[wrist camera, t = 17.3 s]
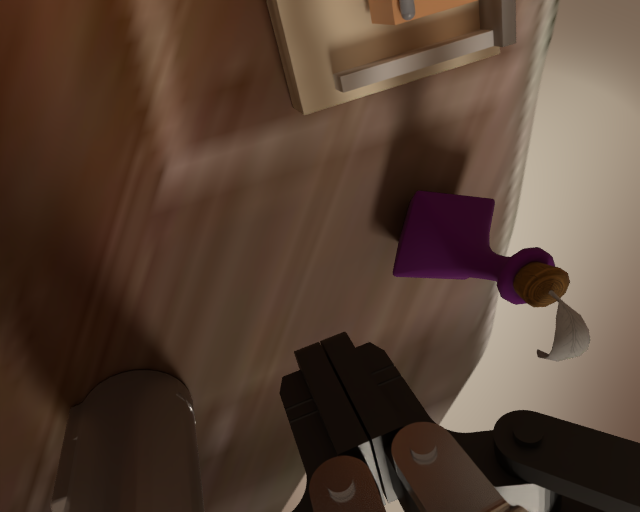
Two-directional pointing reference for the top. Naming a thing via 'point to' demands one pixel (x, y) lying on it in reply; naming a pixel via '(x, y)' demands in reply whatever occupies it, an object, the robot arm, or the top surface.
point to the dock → (378, 46)
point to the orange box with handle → (408, 9)
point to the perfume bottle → (484, 261)
